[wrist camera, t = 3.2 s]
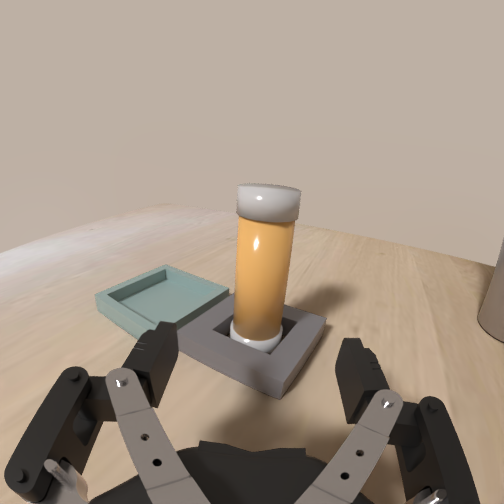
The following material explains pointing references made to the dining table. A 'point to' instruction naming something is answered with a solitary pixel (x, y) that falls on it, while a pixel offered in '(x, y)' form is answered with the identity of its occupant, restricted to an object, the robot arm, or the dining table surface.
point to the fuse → (262, 262)
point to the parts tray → (159, 299)
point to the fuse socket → (247, 358)
